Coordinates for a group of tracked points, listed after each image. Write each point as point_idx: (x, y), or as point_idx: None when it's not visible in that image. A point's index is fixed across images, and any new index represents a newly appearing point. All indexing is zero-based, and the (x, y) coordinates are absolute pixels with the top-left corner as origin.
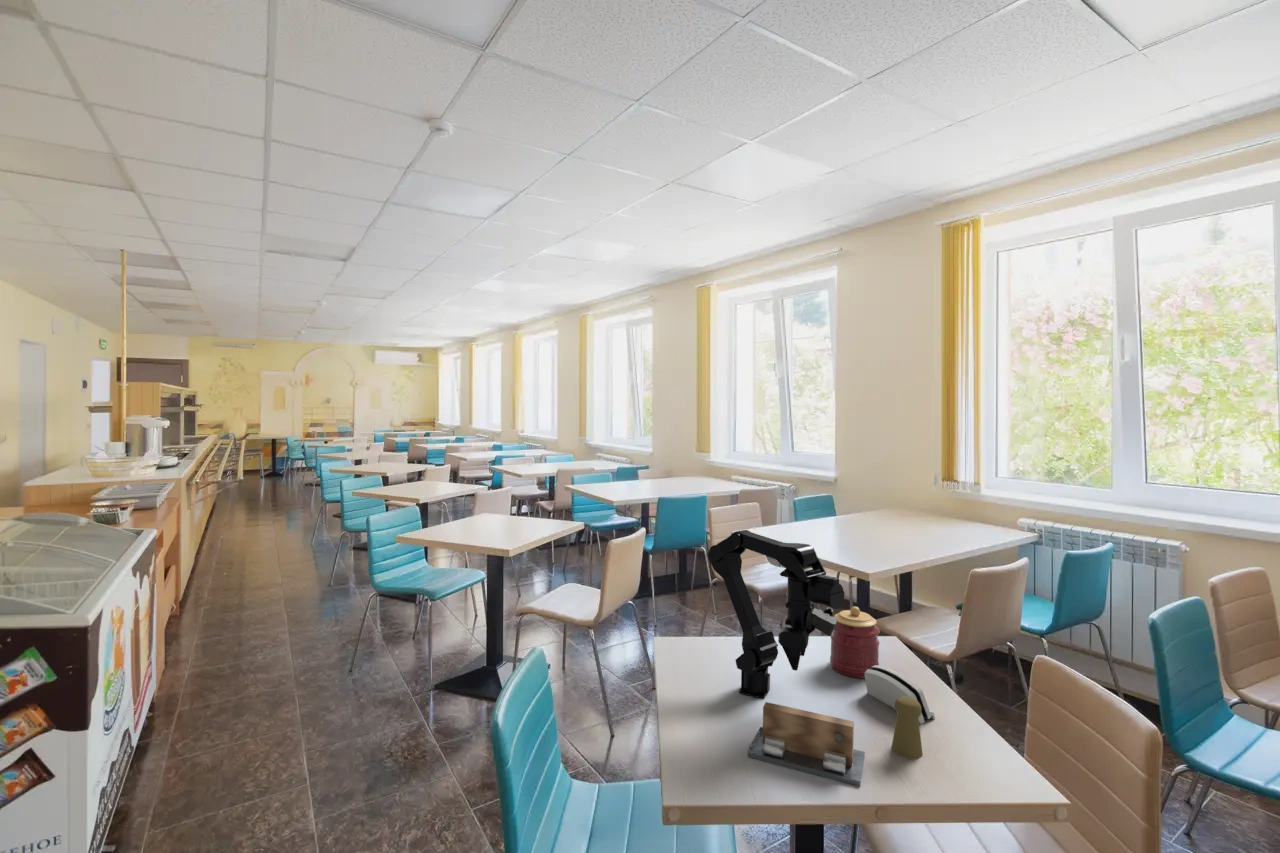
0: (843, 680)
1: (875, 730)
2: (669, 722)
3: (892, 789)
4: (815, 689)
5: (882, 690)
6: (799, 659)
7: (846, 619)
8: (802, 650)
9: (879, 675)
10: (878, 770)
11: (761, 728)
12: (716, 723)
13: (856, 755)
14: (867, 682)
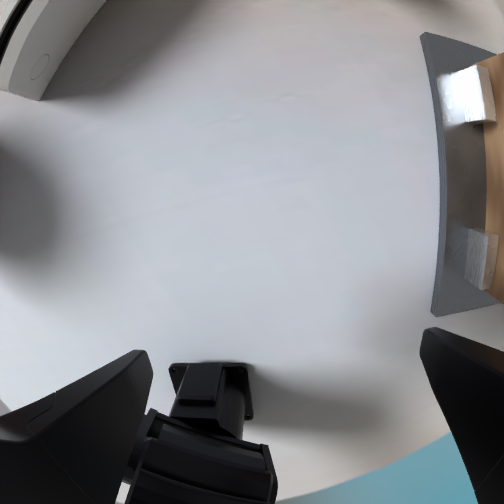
0: (8, 184)
1: (258, 10)
2: (429, 443)
3: (481, 10)
4: (87, 239)
5: (61, 29)
6: (489, 356)
7: None
8: (134, 383)
9: (39, 12)
10: (448, 17)
11: (442, 311)
12: (419, 396)
13: (452, 53)
14: (26, 87)
